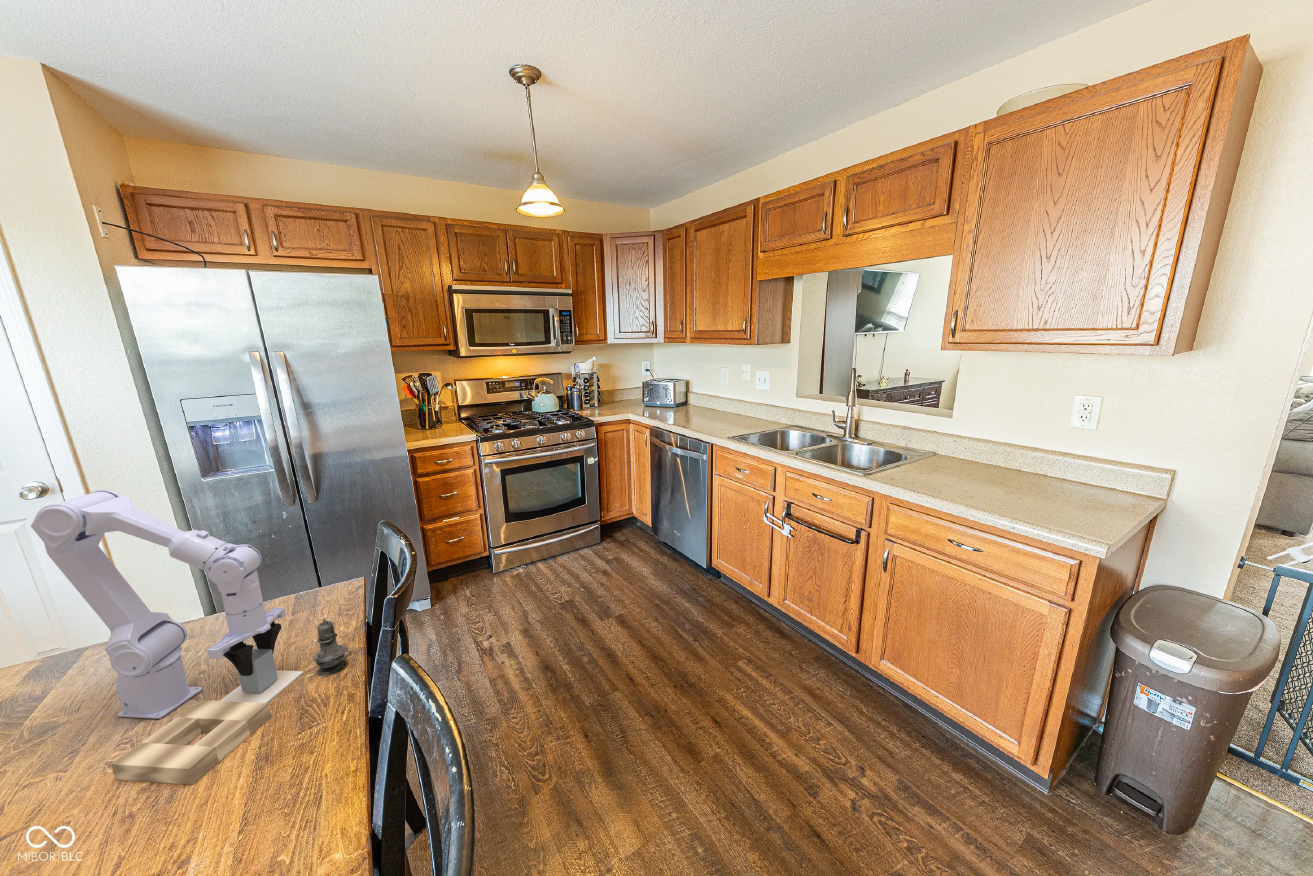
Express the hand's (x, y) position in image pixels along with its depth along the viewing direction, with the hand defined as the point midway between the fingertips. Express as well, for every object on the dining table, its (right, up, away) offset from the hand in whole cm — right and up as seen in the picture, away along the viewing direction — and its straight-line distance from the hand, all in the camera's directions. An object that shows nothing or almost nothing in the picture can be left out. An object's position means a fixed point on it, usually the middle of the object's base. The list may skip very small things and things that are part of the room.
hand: (257, 667), depth 95 cm
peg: (0, -4, +1) cm, 4 cm away
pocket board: (+1, -8, -13) cm, 15 cm away
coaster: (0, -5, +1) cm, 5 cm away
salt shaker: (+11, -4, +7) cm, 13 cm away
